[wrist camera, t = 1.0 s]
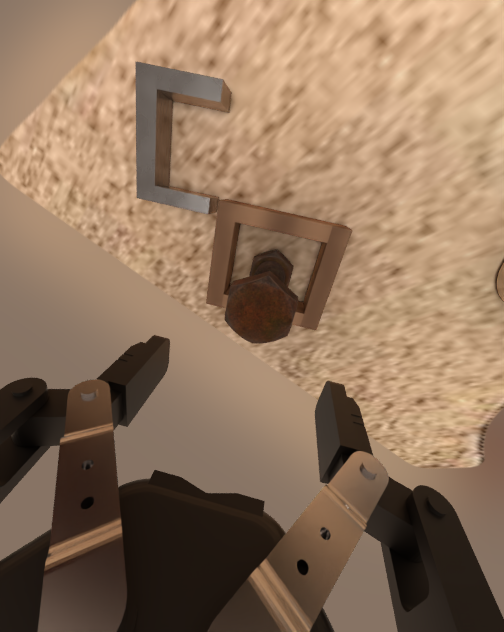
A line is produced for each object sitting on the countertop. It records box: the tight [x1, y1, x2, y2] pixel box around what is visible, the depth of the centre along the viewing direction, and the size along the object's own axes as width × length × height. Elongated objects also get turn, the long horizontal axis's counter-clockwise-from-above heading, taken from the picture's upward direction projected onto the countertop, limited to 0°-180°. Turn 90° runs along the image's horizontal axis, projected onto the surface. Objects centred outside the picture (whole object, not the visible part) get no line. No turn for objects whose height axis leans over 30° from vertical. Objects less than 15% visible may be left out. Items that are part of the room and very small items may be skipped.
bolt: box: [225, 250, 298, 343], centre depth 26 cm, size 6×5×15 cm
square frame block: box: [206, 199, 352, 330], centre depth 31 cm, size 14×12×4 cm
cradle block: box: [136, 62, 232, 214], centre depth 27 cm, size 8×11×4 cm
